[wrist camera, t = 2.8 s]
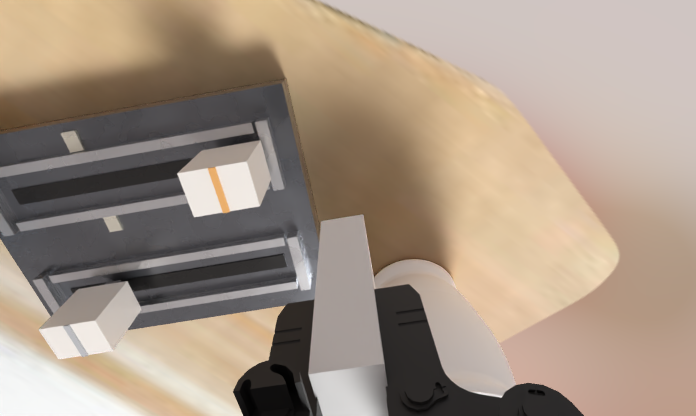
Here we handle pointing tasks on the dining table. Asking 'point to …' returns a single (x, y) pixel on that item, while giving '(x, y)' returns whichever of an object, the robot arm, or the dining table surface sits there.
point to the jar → (454, 328)
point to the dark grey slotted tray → (160, 207)
